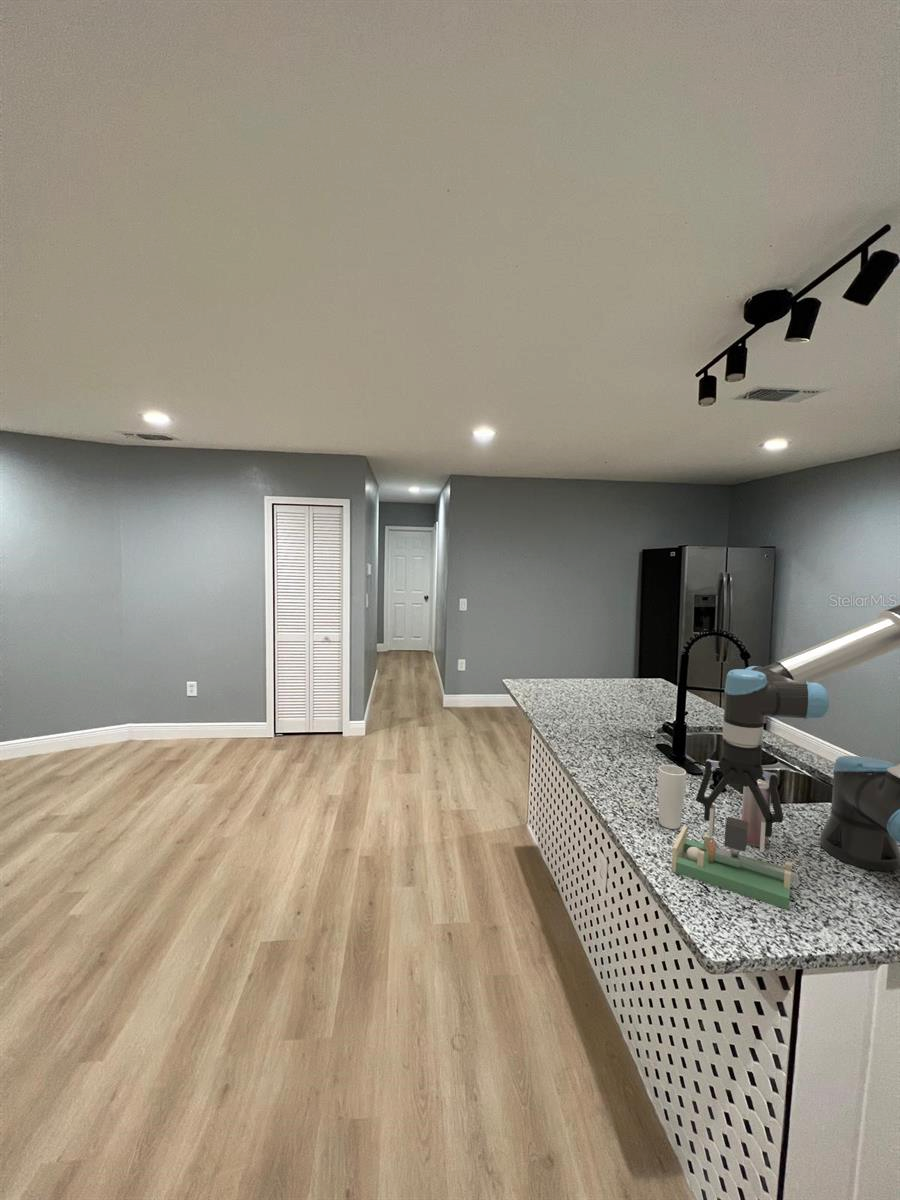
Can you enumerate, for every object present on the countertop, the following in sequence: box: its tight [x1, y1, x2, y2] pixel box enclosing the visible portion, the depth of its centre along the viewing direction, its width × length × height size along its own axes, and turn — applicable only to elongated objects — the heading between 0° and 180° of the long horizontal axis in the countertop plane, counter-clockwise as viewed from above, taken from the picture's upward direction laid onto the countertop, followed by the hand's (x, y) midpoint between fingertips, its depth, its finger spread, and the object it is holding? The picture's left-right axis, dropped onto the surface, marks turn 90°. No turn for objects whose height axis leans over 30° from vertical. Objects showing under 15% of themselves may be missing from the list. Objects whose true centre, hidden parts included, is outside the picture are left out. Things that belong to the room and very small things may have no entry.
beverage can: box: [741, 778, 772, 848], centre depth 129 cm, size 6×6×15 cm
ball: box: [686, 847, 700, 863], centre depth 119 cm, size 4×4×4 cm
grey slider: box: [708, 816, 799, 884], centre depth 112 cm, size 16×4×9 cm, turn 55°
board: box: [671, 825, 793, 911], centre depth 115 cm, size 22×12×6 cm, turn 55°
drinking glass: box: [657, 764, 687, 830], centre depth 136 cm, size 7×7×15 cm
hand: (736, 841), depth 114 cm, fingers open, 9 cm apart
